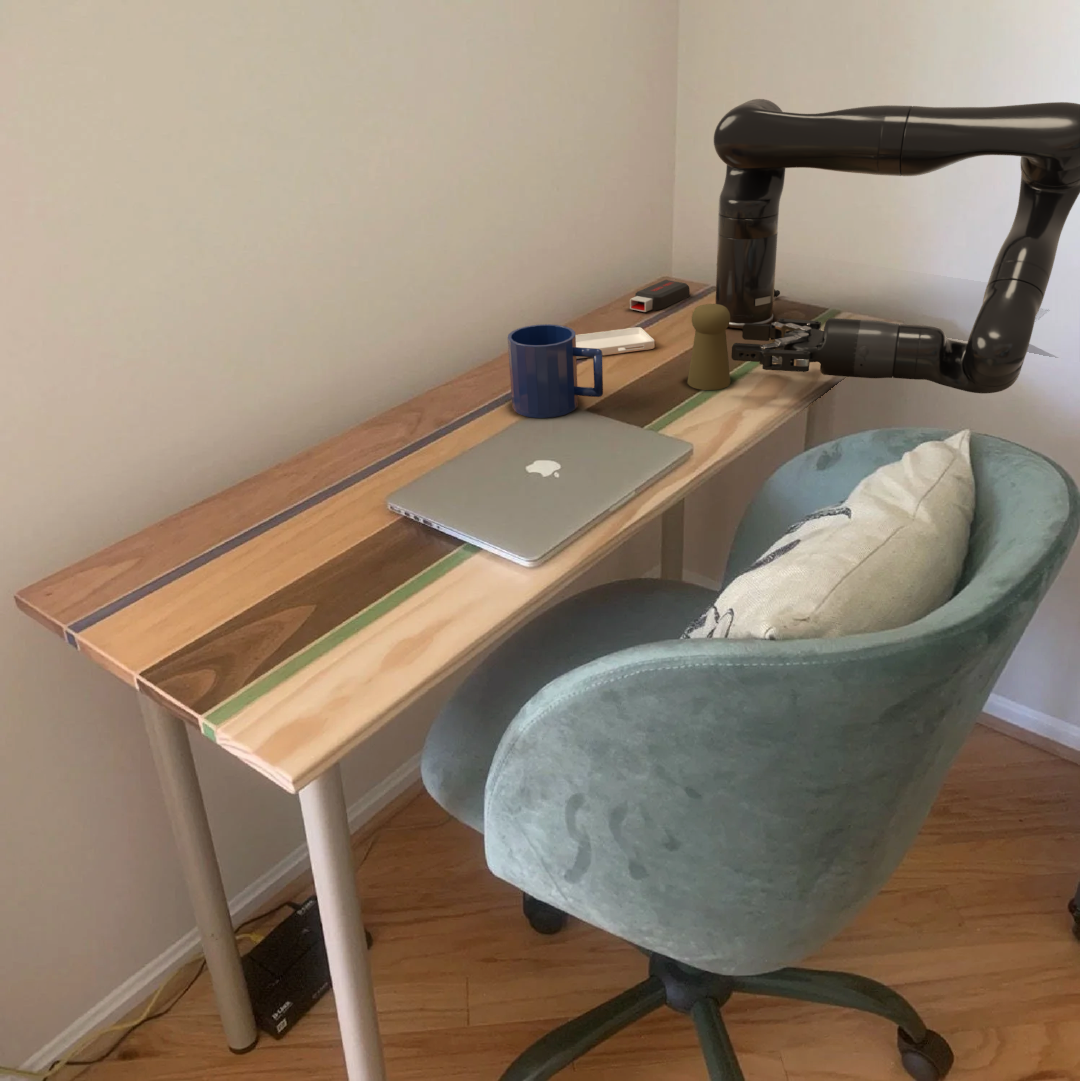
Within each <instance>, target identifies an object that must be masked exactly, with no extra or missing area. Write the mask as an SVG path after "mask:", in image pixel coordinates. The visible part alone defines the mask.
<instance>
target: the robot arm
mask: <svg viewBox="0 0 1080 1081" xmlns="http://www.w3.org/2000/svg"><path fill="white" fill-rule="evenodd" d="M713 146H714V150H715V153H716V155H717V156H718V158H719V159H720V160H721V161H722V162H723V163H724V164H725V165H726V170H725V178H724V183H723V186H722V188H721V192H720V194H719V197H718V210H717V212H718V216H717V245H716V246H717V249H716V278H715V303H714V304H719V305H722V306H724V307H726V308H727V309H728V311H729V313H730V322H729V325H728V327H727V328H731V329H739V330H741V329H742V333H741V334H742V335H741V337H742V339H743V340H746V341H761V342H762V341H763V342H769V341H771V343H770V342H769V343H765V344H759V343H746V342H745V343H744V342H734V343H733V345H732V346H731V359H732V360H733V361H739V362H752V363H754V362H755V363H759V365H760V366H762V368H761V369H762V370H763V371H775V372H776V371H778V372H779V371H780V372H798V373H799V372H800V373H806V372H807V373H808V372H809V371H810V364H811V363H819V371H820V373H821V374H822V376H823V375H824V376H834V377H846V378H847V377H848V378H860V379H892V378H893V379H901V380H902V379H903V380H917V381H919V380H920V381H922V380H923V381H929V382H932V383H935V384H938V385H941V386H944V387H948V388H951V389H955V390H960V391H964V392H967V393H971V394H972V393H973V394H995V393H999V392H1000V393H1001V392H1003V391H1005V390H1007V389H1009V388H1010V387H1011V386H1013V385H1014V384H1015V383H1016V381H1017V380H1018V379H1019V376H1020V374H1021V372H1022V368H1023V365H1024V362H1025V359H1026V356H1027V353H1028V349H1029V347H1030V342H1031V338H1032V334H1033V331H1034V330H1033V329H1034V326H1035V322H1036V317H1037V315H1038V313H1039V311H1040V309H1041V306H1042V304H1043V300H1044V297H1045V294H1046V291H1047V289H1048V288H1047V287H1048V285H1049V282H1050V278H1051V275H1052V271H1053V267H1054V264H1055V259H1056V255H1057V251H1058V246H1059V241H1060V239H1061V235H1062V232H1063V229H1064V226H1065V223H1066V222H1067V219H1068V217H1069V214H1070V212H1071V210H1072V209H1073V207H1074V205H1075V203H1076V201H1077V199H1078V197H1079V195H1080V103H1077V102H1067V101H1056V102H1054V101H1053V102H1039V103H1026V104H1013V105H1001V106H1000V105H999V106H939V107H937V106H935V107H934V106H921V105H895V104H894V105H893V104H889V105H886V104H885V105H871V106H860V107H859V106H858V107H852V108H845V109H839V110H833V111H827V112H819V113H798V112H788V111H783V110H782V109H781V107H780V106H779V105H777V104H776V103H775V102H773V101H772V100H768V99H764V98H755V99H750V100H747V101H745V102H743V103H741V104H739V105H737V106H734V107H733V108H731V109H729V111H727V112H726V113H725V114H724V115H723V117H722V118H721V119H720V120H719V122H718V123H717V125H716V127H715V130H714V133H713ZM983 156H1012V157H1020V162H1019V163H1020V164H1019V165H1020V185H1019V193H1018V194H1019V195H1018V202H1017V208H1016V212H1015V216H1014V219H1013V222H1012V225H1011V228H1010V230H1009V232H1008V233H1007V235H1006V238H1005V239H1004V240H1003V243H1002V245H1001V246H1000V248H999V251H998V253H997V256H996V258H995V260H994V264H993V266H992V269H991V272H990V274H989V278H988V281H987V284H986V288H985V291H984V294H983V299H982V305H981V306H980V309H979V311H978V313H977V316H976V318H975V321H974V322H973V326H972V328H971V331H970V334H969V337H968V340H967V342H962V341H958V340H953V339H949V338H948V337H947V336H946V333H945V331H944V330H943V329H942V328H941V327H938V326H935V325H927V324H911V323H910V324H908V323H897V322H896V323H895V322H891V321H885V320H875V319H859V318H858V319H855V318H839V317H830V318H828V319H826V321H825V324H824V327H823V330H822V327H821V326H822V321H819V320H808V319H795V318H784V317H781V318H778V319H777V321H774V299H775V298H778V297H779V296H780V295H781V290H779V289H775V282H776V268H777V250H778V234H779V215H780V204H781V203H780V202H781V198H782V195H783V191H784V187H785V185H784V184H785V177H786V169H795V168H797V169H800V168H805V169H817V170H826V171H833V172H842V173H851V174H861V175H862V174H863V175H871V176H872V175H873V176H889V177H890V176H891V177H917V176H922V175H927V174H930V173H932V172H936V171H938V170H941V169H944V168H946V167H949V166H951V165H955V164H956V163H959V162H961V161H965V160H967V159H972V158H977V157H983ZM773 321H774V322H773Z"/></svg>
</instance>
